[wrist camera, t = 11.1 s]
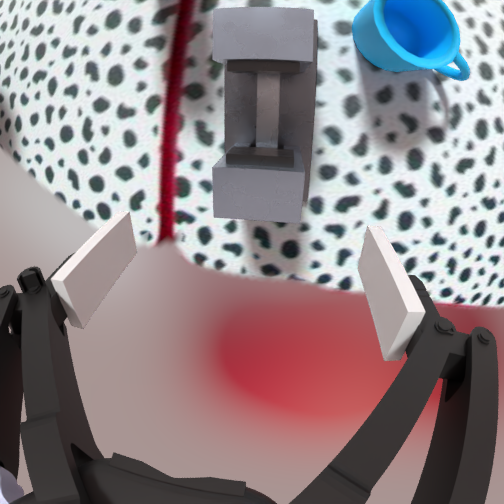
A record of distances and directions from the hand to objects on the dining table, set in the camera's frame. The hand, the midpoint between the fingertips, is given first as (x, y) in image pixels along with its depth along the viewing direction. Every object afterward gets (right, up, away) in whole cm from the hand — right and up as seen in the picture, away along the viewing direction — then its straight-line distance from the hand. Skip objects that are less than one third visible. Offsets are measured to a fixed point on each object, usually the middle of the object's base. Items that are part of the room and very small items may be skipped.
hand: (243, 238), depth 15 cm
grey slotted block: (+2, +14, +12) cm, 18 cm away
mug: (+16, +21, +6) cm, 27 cm away
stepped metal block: (+2, +9, +14) cm, 17 cm away
